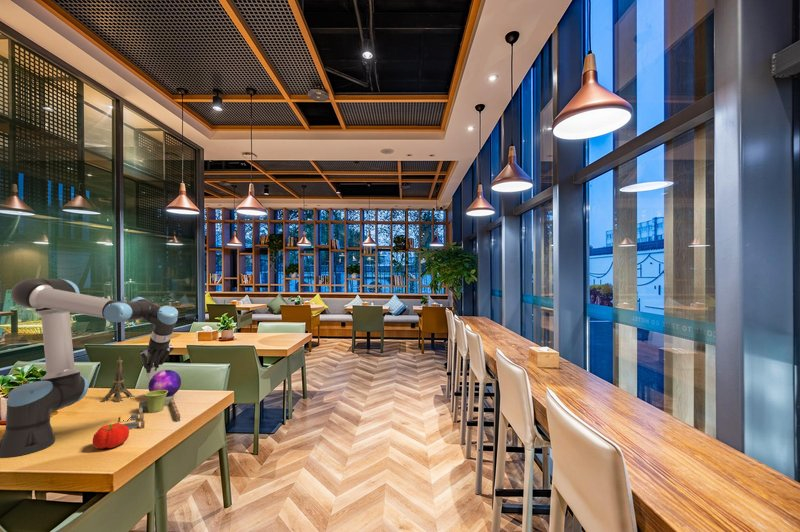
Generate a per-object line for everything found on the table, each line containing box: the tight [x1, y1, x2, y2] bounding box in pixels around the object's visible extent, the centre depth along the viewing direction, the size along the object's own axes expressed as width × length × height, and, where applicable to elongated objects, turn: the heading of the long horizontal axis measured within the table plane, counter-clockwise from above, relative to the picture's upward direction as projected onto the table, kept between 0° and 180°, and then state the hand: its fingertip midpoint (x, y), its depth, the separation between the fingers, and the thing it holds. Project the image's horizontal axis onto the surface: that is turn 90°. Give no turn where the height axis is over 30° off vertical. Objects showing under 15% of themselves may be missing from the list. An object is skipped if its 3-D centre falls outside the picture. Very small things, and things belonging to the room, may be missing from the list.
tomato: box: [92, 422, 130, 450], centre depth 135 cm, size 11×11×8 cm
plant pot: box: [144, 390, 168, 413], centre depth 173 cm, size 9×9×9 cm
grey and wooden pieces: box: [121, 395, 181, 430], centre depth 165 cm, size 29×22×4 cm
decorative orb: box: [147, 369, 182, 397], centre depth 193 cm, size 15×15×15 cm
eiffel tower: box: [99, 357, 135, 403], centre depth 191 cm, size 11×11×25 cm
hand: (149, 376), depth 162 cm, fingers closed
